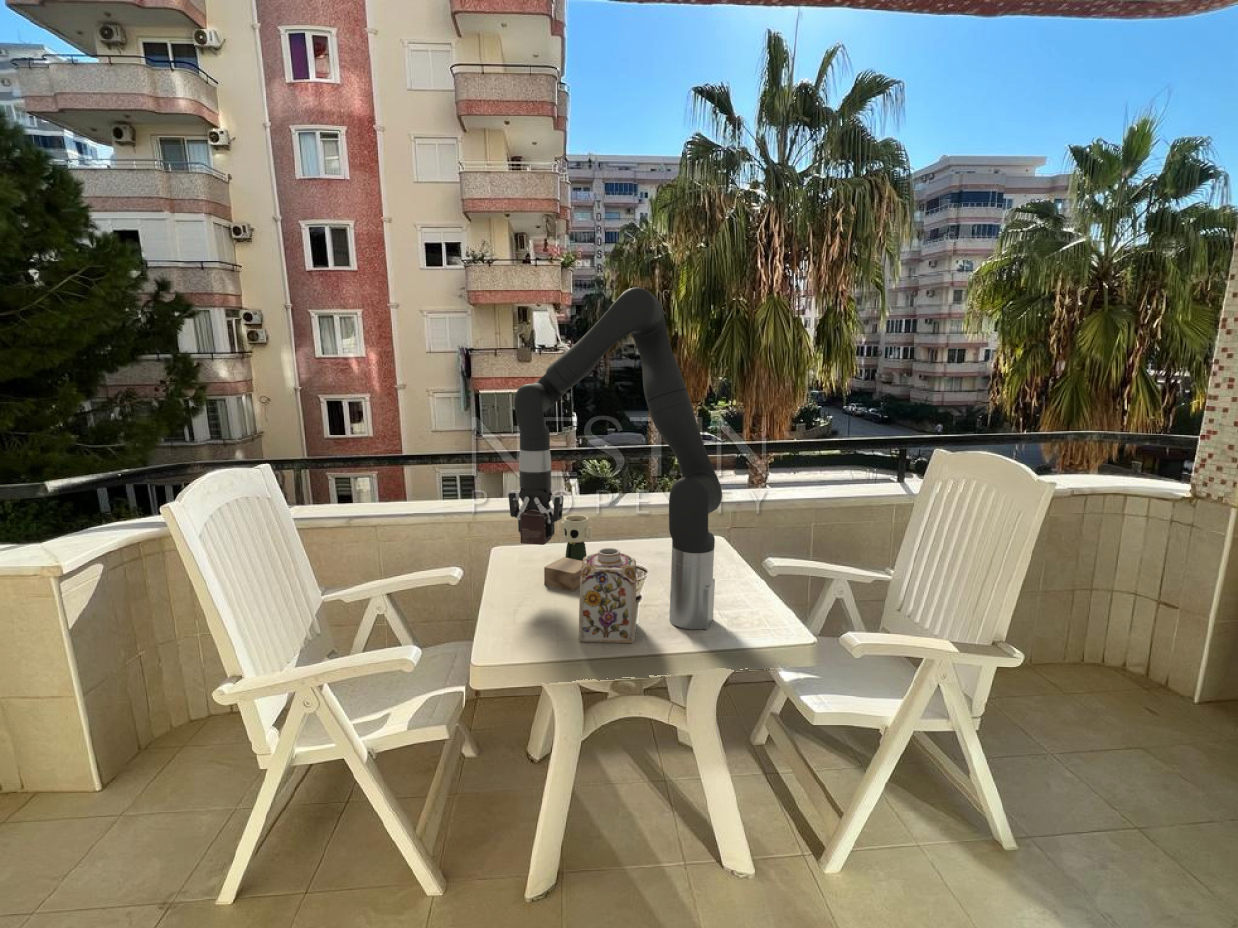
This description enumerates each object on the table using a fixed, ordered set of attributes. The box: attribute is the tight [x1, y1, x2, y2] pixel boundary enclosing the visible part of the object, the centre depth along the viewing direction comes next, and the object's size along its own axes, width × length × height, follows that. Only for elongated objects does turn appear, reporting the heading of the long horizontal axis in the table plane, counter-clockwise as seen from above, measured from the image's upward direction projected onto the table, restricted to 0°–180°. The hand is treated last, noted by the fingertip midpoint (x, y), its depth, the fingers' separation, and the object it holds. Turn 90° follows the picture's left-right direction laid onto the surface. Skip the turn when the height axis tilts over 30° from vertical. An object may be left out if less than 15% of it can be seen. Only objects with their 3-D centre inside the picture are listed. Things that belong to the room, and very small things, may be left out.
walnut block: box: [543, 556, 582, 592], centre depth 154 cm, size 9×9×5 cm
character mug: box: [560, 514, 593, 561], centre depth 169 cm, size 11×7×13 cm, turn 55°
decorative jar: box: [578, 547, 637, 644], centre depth 126 cm, size 12×12×18 cm
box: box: [519, 510, 552, 546], centre depth 143 cm, size 6×6×7 cm
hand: (536, 535), depth 144 cm, fingers closed on box, 6 cm apart
